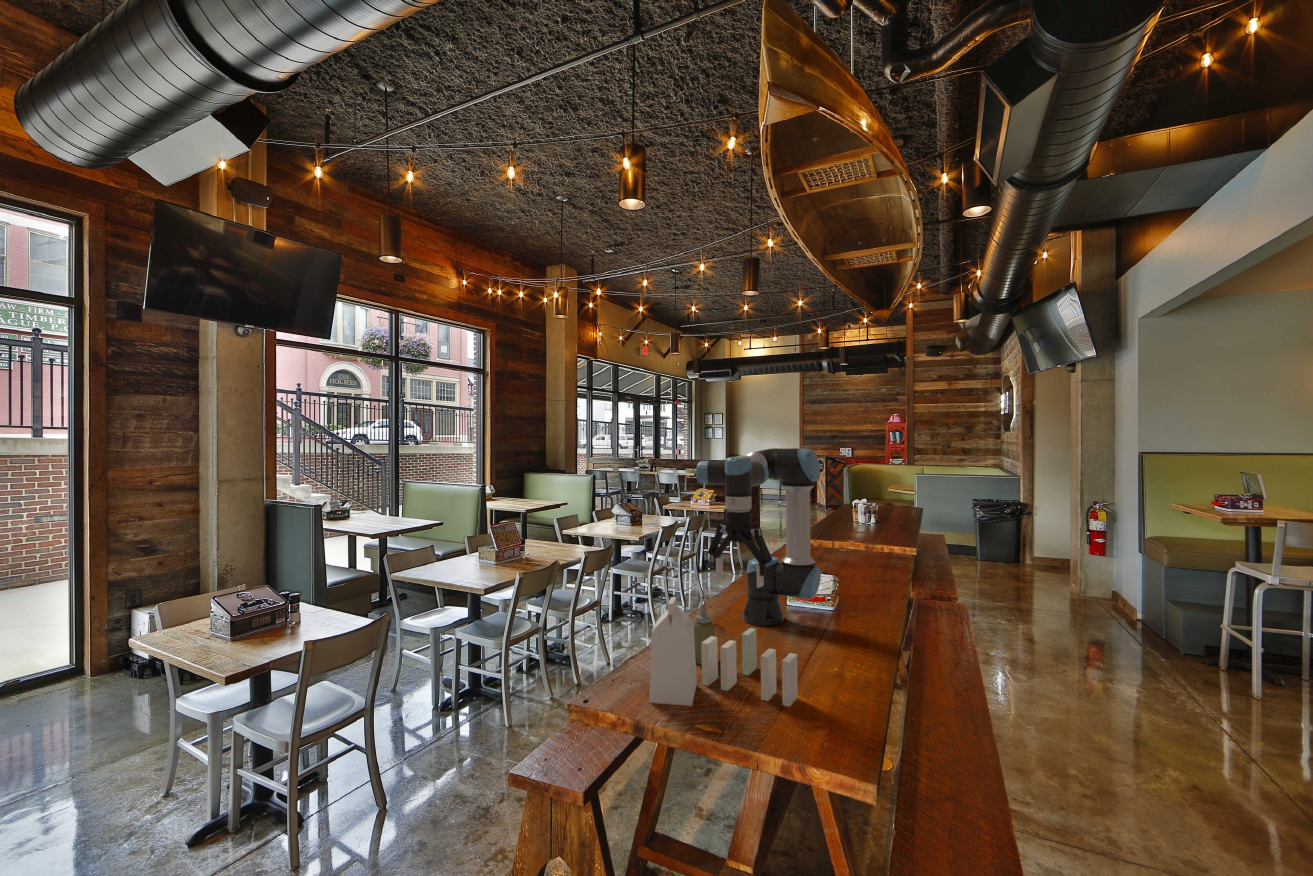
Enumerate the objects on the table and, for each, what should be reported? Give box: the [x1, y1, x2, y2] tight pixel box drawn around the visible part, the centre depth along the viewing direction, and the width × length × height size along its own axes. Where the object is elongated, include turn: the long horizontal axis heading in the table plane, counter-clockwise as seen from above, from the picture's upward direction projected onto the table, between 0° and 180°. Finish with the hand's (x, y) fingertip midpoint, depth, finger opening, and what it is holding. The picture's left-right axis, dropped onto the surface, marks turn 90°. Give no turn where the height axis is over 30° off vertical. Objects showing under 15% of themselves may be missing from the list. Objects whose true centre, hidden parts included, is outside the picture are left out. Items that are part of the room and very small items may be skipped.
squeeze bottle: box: [693, 603, 716, 666], centre depth 179 cm, size 8×8×18 cm
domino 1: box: [701, 636, 719, 687], centre depth 165 cm, size 2×6×12 cm, turn 147°
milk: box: [648, 596, 698, 707], centre depth 158 cm, size 12×12×26 cm
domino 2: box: [719, 639, 738, 692], centre depth 162 cm, size 2×6×12 cm, turn 147°
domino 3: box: [741, 627, 758, 676], centre depth 171 cm, size 2×6×12 cm, turn 147°
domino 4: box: [760, 647, 777, 702], centre depth 155 cm, size 2×6×12 cm, turn 147°
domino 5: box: [781, 652, 799, 708], centre depth 152 cm, size 2×6×12 cm, turn 147°
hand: (739, 582), depth 167 cm, fingers open, 13 cm apart
